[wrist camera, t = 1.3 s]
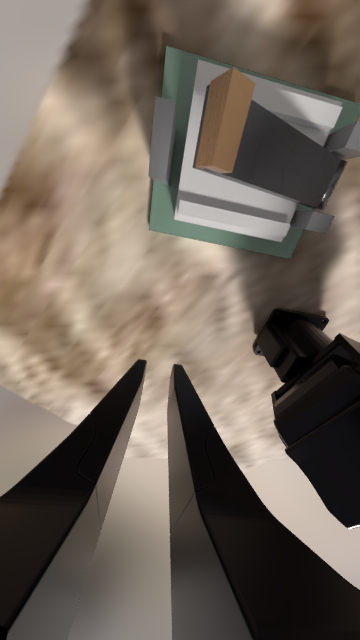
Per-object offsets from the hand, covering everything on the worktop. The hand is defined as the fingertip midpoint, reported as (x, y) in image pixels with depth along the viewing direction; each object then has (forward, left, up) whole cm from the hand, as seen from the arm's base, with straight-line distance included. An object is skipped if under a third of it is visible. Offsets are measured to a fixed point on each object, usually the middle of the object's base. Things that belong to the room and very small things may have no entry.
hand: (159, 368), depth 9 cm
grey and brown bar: (-4, -10, -6) cm, 12 cm away
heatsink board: (-4, -10, -12) cm, 16 cm away
